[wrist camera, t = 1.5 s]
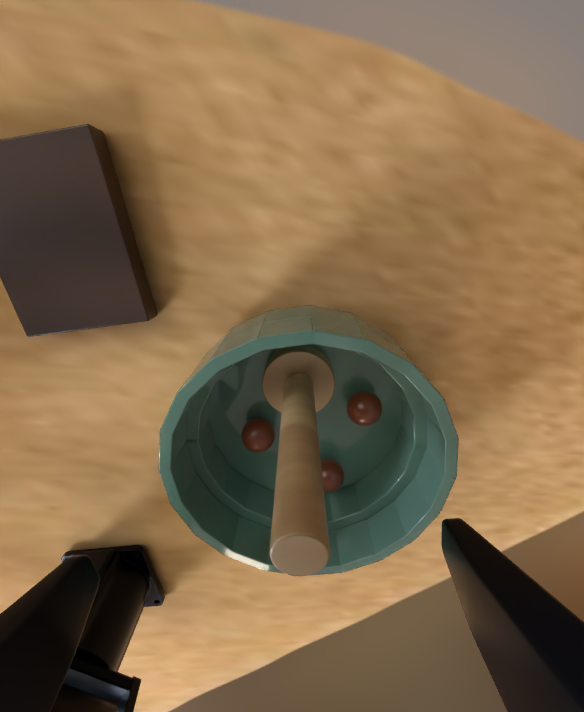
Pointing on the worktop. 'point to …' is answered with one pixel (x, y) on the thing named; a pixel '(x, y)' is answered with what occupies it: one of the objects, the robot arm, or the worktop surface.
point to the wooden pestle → (299, 459)
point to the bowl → (336, 441)
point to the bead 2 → (332, 475)
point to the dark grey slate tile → (67, 235)
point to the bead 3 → (364, 408)
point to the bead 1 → (258, 435)
